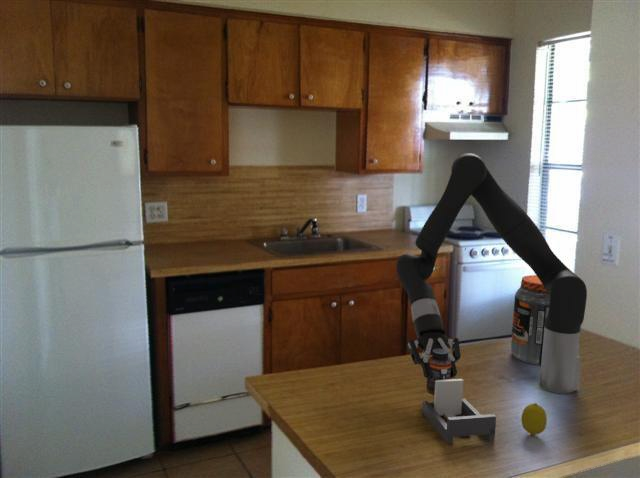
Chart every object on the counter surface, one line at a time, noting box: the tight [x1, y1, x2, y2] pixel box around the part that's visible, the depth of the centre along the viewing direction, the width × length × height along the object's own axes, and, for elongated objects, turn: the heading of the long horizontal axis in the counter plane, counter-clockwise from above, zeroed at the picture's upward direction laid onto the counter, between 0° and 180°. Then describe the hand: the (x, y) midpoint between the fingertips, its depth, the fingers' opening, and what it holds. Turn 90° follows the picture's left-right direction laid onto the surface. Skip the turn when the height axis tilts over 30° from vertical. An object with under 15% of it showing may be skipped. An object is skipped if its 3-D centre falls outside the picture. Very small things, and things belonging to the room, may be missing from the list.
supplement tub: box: [510, 274, 550, 366], centre depth 184 cm, size 16×16×26 cm
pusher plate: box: [433, 378, 464, 420], centre depth 139 cm, size 7×11×9 cm, turn 11°
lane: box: [421, 397, 497, 446], centre depth 139 cm, size 11×16×6 cm
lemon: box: [521, 402, 548, 437], centre depth 135 cm, size 6×6×8 cm
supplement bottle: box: [426, 349, 451, 396], centre depth 149 cm, size 6×6×11 cm
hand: (441, 377), depth 148 cm, fingers closed on supplement bottle, 6 cm apart
